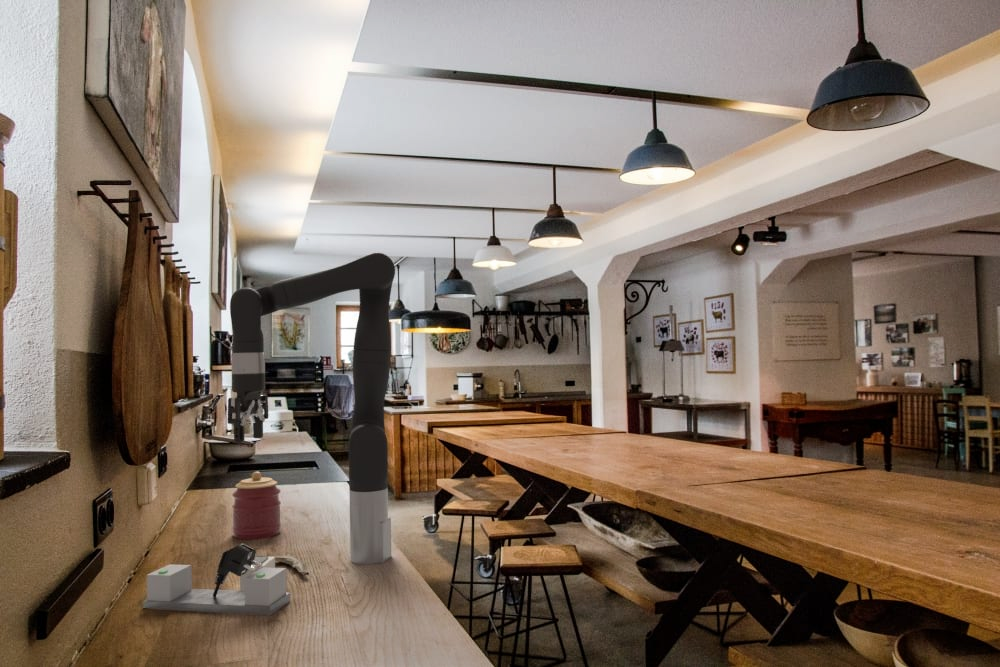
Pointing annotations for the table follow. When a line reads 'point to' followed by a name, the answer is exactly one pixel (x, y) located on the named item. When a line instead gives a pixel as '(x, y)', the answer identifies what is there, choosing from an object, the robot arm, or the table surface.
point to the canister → (256, 508)
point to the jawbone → (291, 562)
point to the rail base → (216, 603)
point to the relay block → (257, 568)
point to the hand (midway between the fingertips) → (249, 439)
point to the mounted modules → (177, 581)
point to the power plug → (235, 563)
